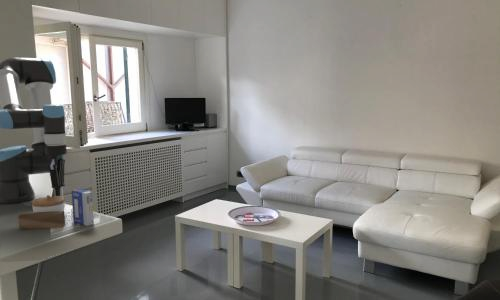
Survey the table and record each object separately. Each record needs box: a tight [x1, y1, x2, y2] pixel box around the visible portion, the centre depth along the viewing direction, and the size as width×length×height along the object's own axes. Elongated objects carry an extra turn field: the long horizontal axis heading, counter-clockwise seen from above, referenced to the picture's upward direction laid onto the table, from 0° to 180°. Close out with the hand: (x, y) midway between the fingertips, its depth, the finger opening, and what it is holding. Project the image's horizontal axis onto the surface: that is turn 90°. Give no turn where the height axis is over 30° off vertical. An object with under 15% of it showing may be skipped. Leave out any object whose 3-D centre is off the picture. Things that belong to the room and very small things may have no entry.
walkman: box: [71, 188, 95, 227], centre depth 143 cm, size 8×3×12 cm, turn 59°
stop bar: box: [17, 210, 66, 231], centre depth 139 cm, size 3×14×5 cm, turn 99°
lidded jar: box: [31, 194, 66, 212], centre depth 147 cm, size 11×11×9 cm
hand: (59, 203), depth 160 cm, fingers closed
